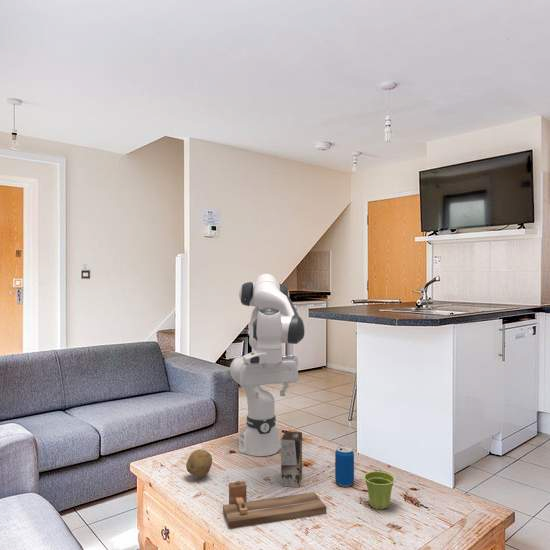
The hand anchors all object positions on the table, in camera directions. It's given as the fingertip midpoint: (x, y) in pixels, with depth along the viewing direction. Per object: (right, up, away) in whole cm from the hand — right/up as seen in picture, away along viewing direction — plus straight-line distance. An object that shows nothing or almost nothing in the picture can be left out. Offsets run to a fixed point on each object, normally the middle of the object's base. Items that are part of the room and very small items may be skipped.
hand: (269, 396), depth 157 cm
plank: (+2, -31, -16) cm, 35 cm away
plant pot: (+35, -31, -12) cm, 48 cm away
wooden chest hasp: (-9, -31, -16) cm, 36 cm away
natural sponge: (-25, -31, +8) cm, 41 cm away
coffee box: (+8, -31, +5) cm, 33 cm away
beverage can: (+26, -31, +4) cm, 41 cm away
